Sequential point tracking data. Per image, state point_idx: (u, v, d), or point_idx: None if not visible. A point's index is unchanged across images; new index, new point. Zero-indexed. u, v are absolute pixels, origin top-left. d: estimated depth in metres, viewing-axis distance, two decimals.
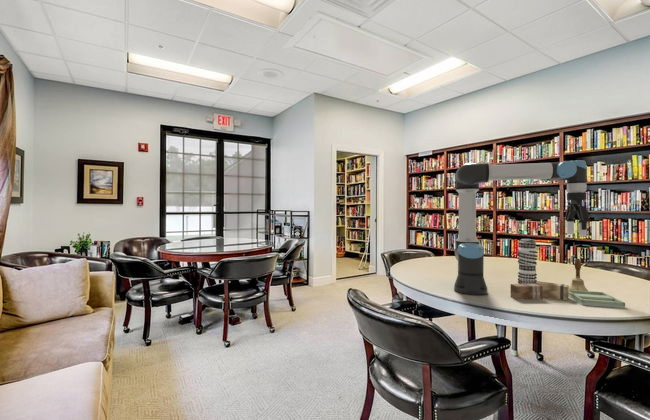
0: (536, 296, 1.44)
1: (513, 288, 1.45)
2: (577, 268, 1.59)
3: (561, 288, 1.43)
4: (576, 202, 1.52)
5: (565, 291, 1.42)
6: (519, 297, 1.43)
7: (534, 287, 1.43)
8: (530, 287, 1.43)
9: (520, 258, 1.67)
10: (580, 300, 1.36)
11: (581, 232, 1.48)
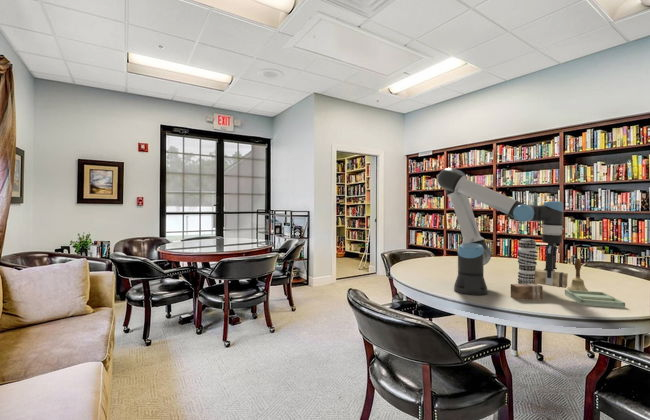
0: (536, 296, 1.44)
1: (513, 288, 1.45)
2: (577, 268, 1.59)
3: (560, 276, 1.44)
4: None
5: (564, 279, 1.43)
6: (519, 297, 1.43)
7: (534, 287, 1.43)
8: (530, 287, 1.43)
9: (520, 258, 1.67)
10: (580, 300, 1.36)
11: (546, 280, 1.46)
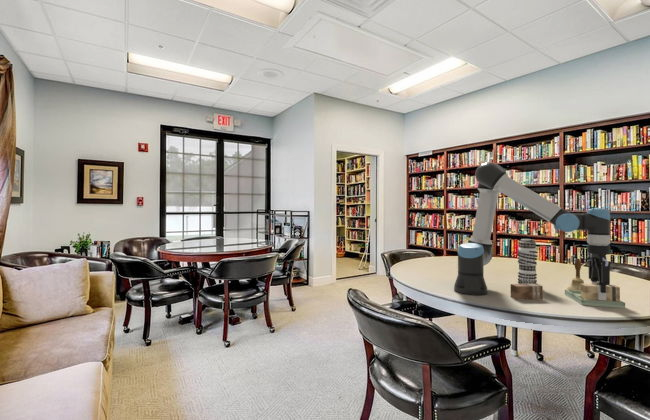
0: (536, 296, 1.44)
1: (513, 288, 1.45)
2: (577, 268, 1.59)
3: (613, 289, 1.33)
4: (599, 257, 1.34)
5: (617, 292, 1.33)
6: (519, 297, 1.43)
7: (534, 287, 1.43)
8: (530, 287, 1.43)
9: (520, 258, 1.67)
10: (580, 300, 1.36)
11: (600, 295, 1.34)
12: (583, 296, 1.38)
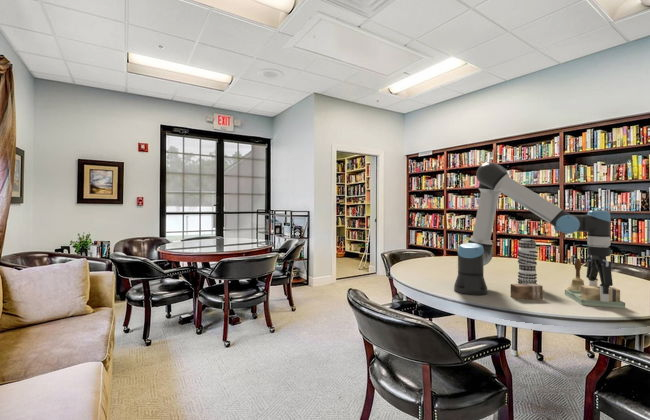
0: (536, 296, 1.44)
1: (513, 288, 1.45)
2: (577, 268, 1.59)
3: (613, 292, 1.33)
4: (599, 258, 1.34)
5: (618, 295, 1.32)
6: (519, 297, 1.43)
7: (534, 287, 1.43)
8: (530, 287, 1.43)
9: (520, 258, 1.67)
10: (580, 300, 1.36)
11: (602, 296, 1.32)
12: (583, 298, 1.38)
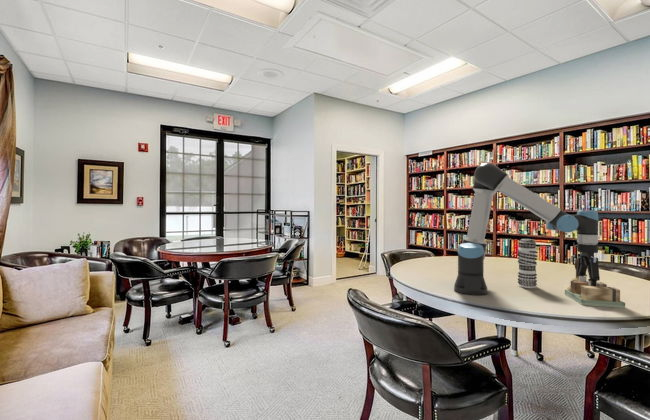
0: None
1: (572, 284, 1.47)
2: None
3: (613, 292, 1.33)
4: (587, 255, 1.43)
5: (618, 295, 1.32)
6: None
7: None
8: None
9: (520, 258, 1.67)
10: (580, 300, 1.36)
11: None
12: (583, 298, 1.38)
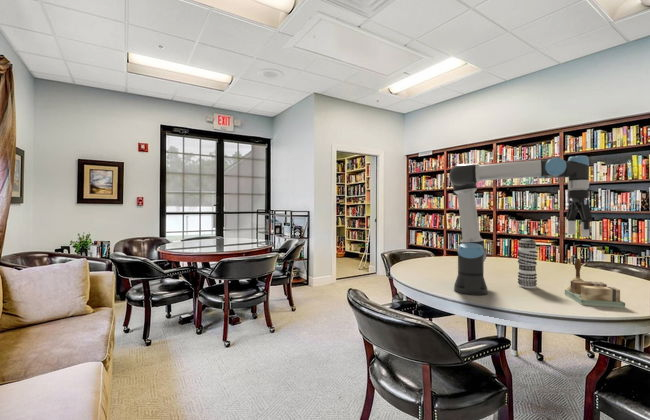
0: None
1: (572, 284, 1.47)
2: (577, 268, 1.59)
3: (613, 292, 1.33)
4: (578, 200, 1.44)
5: (618, 295, 1.32)
6: None
7: (596, 285, 1.43)
8: (591, 284, 1.43)
9: (520, 258, 1.67)
10: (580, 300, 1.36)
11: (583, 232, 1.39)
12: (583, 298, 1.38)
